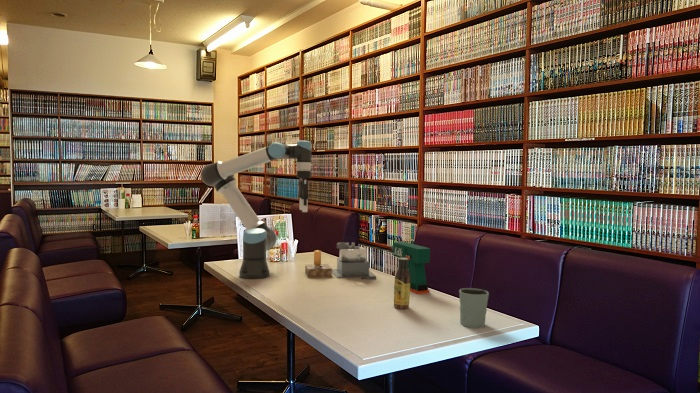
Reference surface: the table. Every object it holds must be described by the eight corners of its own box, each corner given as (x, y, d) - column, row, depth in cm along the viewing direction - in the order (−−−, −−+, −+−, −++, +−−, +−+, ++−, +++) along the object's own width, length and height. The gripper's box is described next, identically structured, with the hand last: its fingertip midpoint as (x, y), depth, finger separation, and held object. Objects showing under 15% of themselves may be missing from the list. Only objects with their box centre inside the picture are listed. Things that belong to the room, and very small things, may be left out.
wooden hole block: (307, 279, 239) (308, 269, 239) (305, 274, 251) (305, 264, 251) (331, 278, 242) (331, 268, 242) (327, 273, 254) (328, 264, 253)
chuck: (334, 260, 245) (334, 243, 245) (341, 256, 259) (341, 240, 258) (362, 262, 241) (363, 245, 241) (368, 258, 255) (369, 241, 254)
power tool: (381, 279, 243) (382, 239, 242) (393, 278, 246) (394, 239, 245) (416, 294, 214) (417, 249, 213) (429, 292, 217) (430, 248, 216)
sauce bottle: (390, 305, 194) (392, 257, 193) (404, 304, 196) (406, 256, 195) (398, 310, 188) (399, 259, 187) (412, 309, 190) (413, 259, 189)
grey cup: (452, 323, 172) (453, 290, 172) (468, 318, 180) (469, 286, 179) (478, 330, 165) (479, 296, 165) (492, 324, 172) (494, 291, 172)
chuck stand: (337, 280, 238) (337, 264, 238) (330, 271, 258) (330, 257, 258) (376, 279, 242) (376, 263, 242) (366, 270, 262) (366, 256, 262)
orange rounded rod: (314, 275, 244) (314, 251, 243) (313, 273, 248) (313, 250, 247) (321, 274, 245) (321, 251, 244) (320, 273, 249) (320, 250, 248)
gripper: (314, 170, 241) (313, 212, 242) (308, 170, 265) (307, 209, 266) (299, 170, 239) (298, 212, 240) (294, 170, 264) (294, 209, 265)
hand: (303, 210), depth 253 cm, fingers open, 13 cm apart
